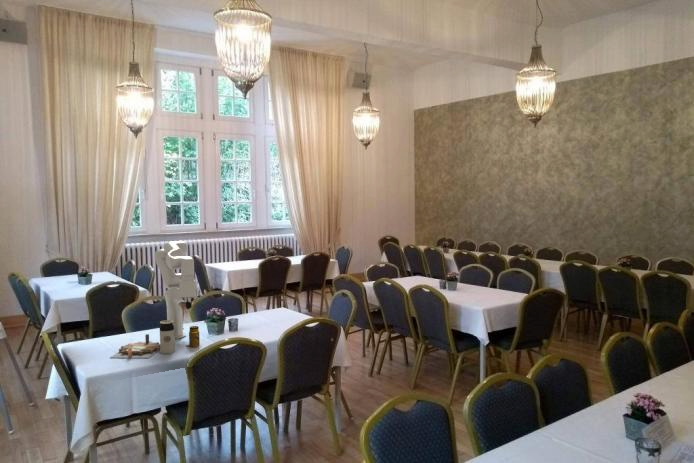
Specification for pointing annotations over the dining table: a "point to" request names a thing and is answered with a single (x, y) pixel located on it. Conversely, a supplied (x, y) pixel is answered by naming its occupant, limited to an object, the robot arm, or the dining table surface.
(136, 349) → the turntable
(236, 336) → the dining table surface
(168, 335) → the travel mug
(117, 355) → the turntable base
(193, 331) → the condiment
